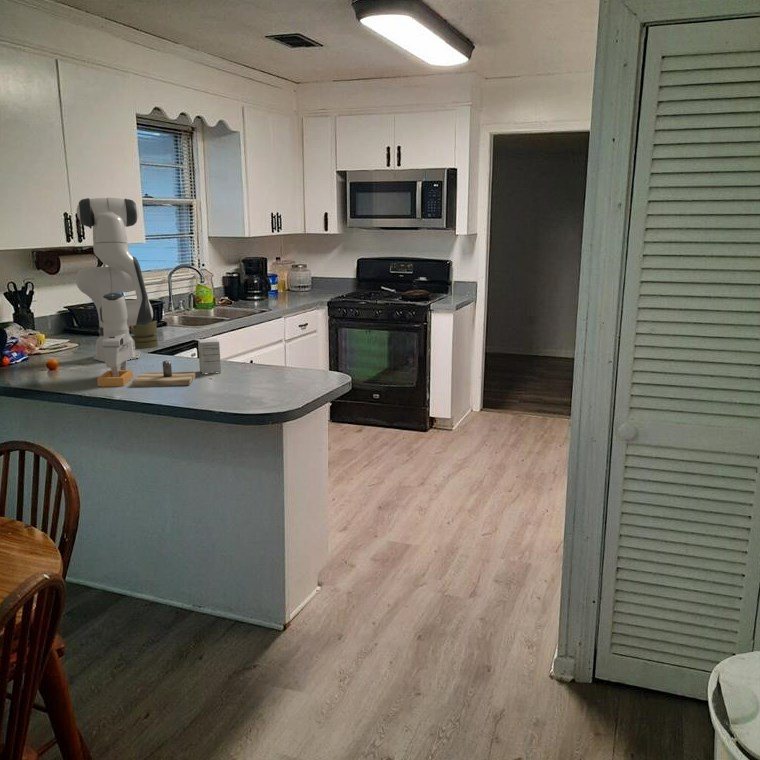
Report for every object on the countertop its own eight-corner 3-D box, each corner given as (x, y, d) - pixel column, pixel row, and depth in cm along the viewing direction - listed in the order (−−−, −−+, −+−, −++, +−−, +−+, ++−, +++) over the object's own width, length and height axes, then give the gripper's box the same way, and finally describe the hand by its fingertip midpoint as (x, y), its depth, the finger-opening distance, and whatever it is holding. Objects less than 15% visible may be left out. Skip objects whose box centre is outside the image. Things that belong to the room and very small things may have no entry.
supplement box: (199, 371, 279) (197, 339, 276) (218, 369, 281) (216, 338, 278) (201, 374, 272) (199, 342, 269) (221, 373, 274) (219, 341, 272)
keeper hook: (164, 375, 262) (163, 360, 261) (172, 375, 262) (171, 359, 261) (161, 378, 258) (160, 362, 256) (170, 378, 258) (169, 362, 256)
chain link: (108, 378, 267) (107, 370, 266) (133, 377, 267) (132, 370, 267) (98, 386, 254) (97, 378, 253) (123, 386, 255) (123, 377, 254)
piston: (138, 323, 321) (125, 321, 328) (141, 349, 324) (127, 346, 331) (160, 320, 329) (147, 318, 336) (162, 346, 332) (149, 343, 339)
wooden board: (142, 378, 267) (141, 372, 267) (196, 376, 269) (196, 371, 268) (132, 386, 253) (132, 381, 253) (189, 385, 255) (189, 380, 254)
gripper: (116, 333, 273) (119, 368, 276) (99, 342, 253) (103, 380, 256) (132, 333, 273) (135, 368, 276) (117, 342, 253) (121, 380, 256)
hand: (120, 374), depth 266 cm, fingers open, 8 cm apart
